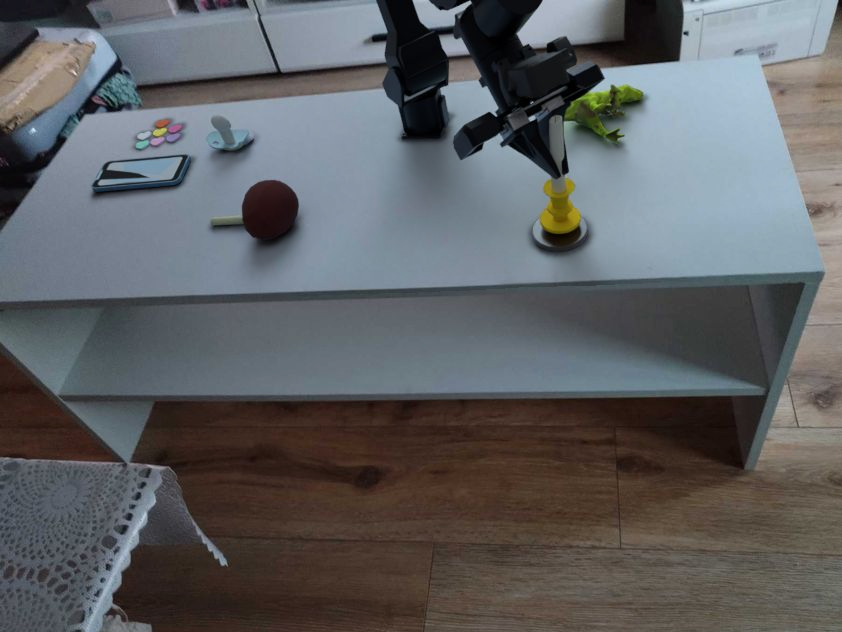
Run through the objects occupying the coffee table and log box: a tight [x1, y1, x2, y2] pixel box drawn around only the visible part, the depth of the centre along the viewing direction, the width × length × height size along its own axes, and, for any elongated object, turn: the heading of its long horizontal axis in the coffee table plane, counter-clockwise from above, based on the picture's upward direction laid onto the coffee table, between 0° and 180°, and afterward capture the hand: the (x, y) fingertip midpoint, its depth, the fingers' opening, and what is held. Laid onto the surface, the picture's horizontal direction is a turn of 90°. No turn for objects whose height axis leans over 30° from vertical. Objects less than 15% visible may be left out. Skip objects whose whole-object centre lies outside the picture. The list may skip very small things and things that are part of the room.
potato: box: [241, 179, 300, 241], centre depth 98 cm, size 8×9×6 cm
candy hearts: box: [134, 118, 183, 151], centre depth 122 cm, size 8×8×1 cm
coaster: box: [531, 216, 588, 253], centre depth 91 cm, size 7×7×1 cm
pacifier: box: [205, 114, 255, 152], centre depth 114 cm, size 7×6×6 cm
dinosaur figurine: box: [564, 83, 644, 145], centre depth 101 cm, size 20×10×6 cm, turn 133°
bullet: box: [209, 215, 244, 226], centre depth 102 cm, size 1×1×8 cm
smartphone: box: [90, 153, 192, 193], centre depth 114 cm, size 7×1×15 cm
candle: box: [539, 114, 582, 234], centre depth 84 cm, size 5×5×16 cm
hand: (562, 176), depth 83 cm, fingers closed on candle
